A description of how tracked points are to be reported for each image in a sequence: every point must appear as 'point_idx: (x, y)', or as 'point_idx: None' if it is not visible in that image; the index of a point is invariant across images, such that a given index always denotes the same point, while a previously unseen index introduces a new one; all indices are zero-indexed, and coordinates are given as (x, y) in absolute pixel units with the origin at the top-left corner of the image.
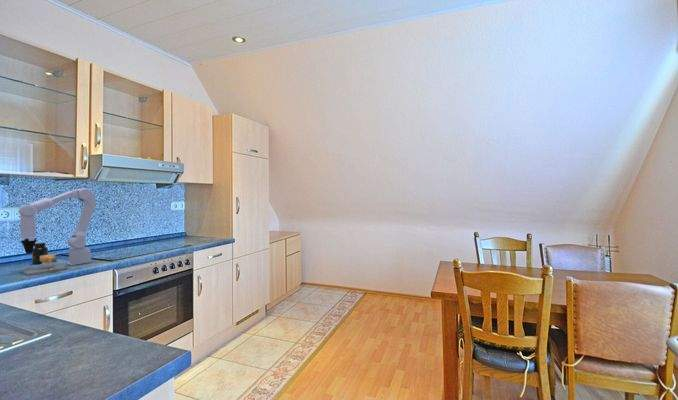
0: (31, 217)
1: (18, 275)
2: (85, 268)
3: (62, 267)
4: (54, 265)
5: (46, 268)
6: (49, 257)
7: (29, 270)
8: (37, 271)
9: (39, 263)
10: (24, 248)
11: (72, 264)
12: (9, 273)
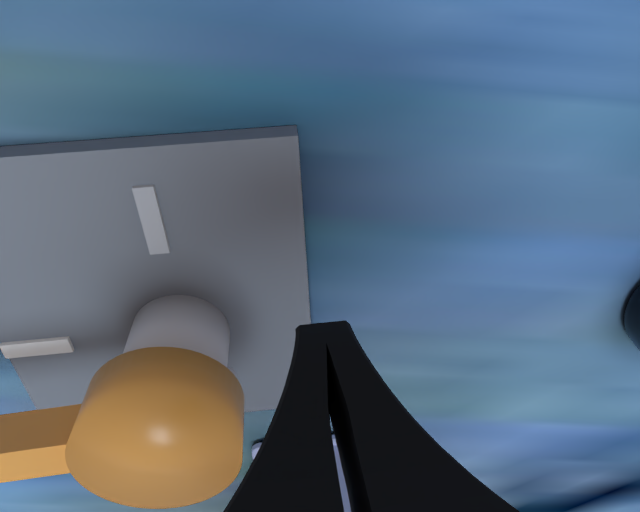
0: None
1: (69, 75)
2: (7, 491)
3: None
4: (277, 376)
5: (132, 322)
6: (26, 457)
7: (135, 196)
8: (3, 249)
9: (636, 294)
10: (358, 388)
11: (252, 456)
12: (340, 5)
